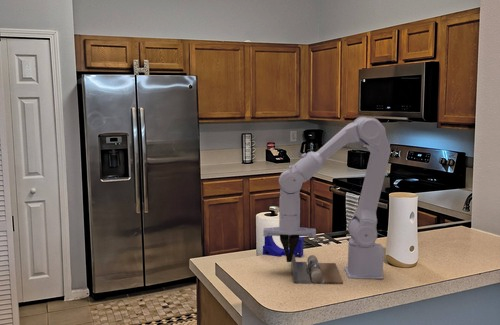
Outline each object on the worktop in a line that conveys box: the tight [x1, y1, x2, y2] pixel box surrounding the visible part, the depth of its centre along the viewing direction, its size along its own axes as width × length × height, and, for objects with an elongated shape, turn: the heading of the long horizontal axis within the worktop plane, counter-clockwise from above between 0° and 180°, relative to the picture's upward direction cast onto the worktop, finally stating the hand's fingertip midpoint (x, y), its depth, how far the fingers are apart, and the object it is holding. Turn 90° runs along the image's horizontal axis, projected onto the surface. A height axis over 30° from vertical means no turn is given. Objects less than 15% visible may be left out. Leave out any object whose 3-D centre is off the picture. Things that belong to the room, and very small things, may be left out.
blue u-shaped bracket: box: [262, 236, 305, 259], centre depth 151 cm, size 12×4×6 cm, turn 69°
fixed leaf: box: [306, 254, 344, 285], centre depth 134 cm, size 8×15×3 cm, turn 178°
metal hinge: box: [290, 255, 321, 284], centre depth 134 cm, size 8×15×3 cm, turn 178°
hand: (289, 260), depth 134 cm, fingers closed
